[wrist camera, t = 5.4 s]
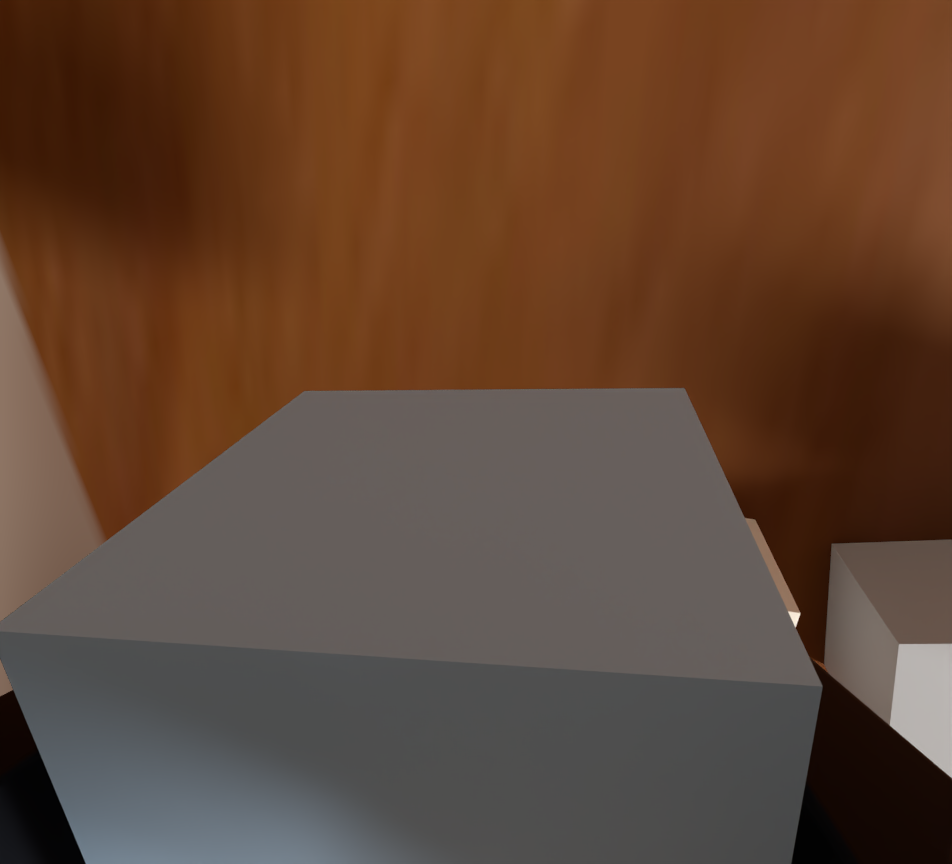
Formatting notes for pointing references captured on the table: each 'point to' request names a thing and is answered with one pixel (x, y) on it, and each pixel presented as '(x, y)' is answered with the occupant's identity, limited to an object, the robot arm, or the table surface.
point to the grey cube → (896, 636)
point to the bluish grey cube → (429, 646)
